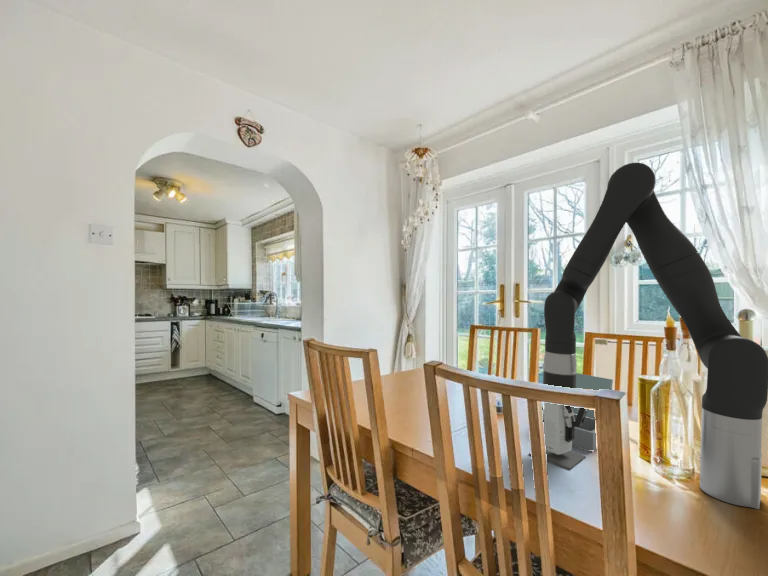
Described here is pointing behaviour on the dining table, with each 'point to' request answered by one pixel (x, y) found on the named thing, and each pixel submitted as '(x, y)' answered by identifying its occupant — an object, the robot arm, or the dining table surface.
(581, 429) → the grey open box
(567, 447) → the skincare box
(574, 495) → the dining table surface
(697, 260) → the robot arm
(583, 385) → the lid
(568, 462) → the rubber mat
